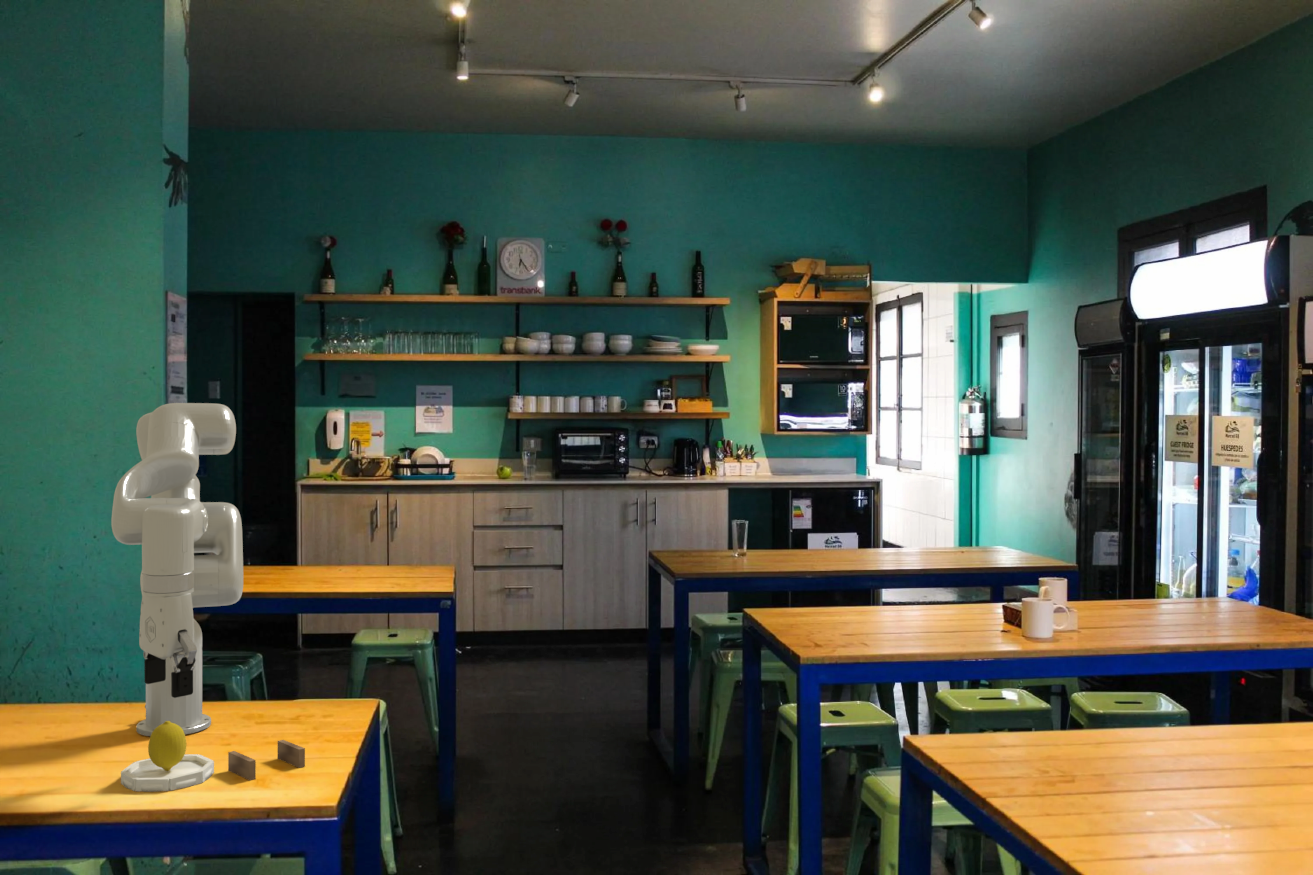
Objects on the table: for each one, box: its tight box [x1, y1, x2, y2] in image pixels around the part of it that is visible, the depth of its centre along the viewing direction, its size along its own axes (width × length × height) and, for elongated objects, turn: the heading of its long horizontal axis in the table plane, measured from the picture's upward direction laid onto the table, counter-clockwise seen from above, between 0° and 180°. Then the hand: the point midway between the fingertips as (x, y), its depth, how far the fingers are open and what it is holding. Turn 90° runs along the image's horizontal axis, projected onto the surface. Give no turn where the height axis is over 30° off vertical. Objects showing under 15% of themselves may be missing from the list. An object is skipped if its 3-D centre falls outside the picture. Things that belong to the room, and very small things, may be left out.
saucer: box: [120, 753, 215, 793], centre depth 174 cm, size 13×13×2 cm
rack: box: [227, 739, 306, 781], centre depth 179 cm, size 7×10×3 cm
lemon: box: [147, 721, 187, 771], centre depth 175 cm, size 6×6×8 cm
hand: (168, 688), depth 175 cm, fingers open, 9 cm apart
